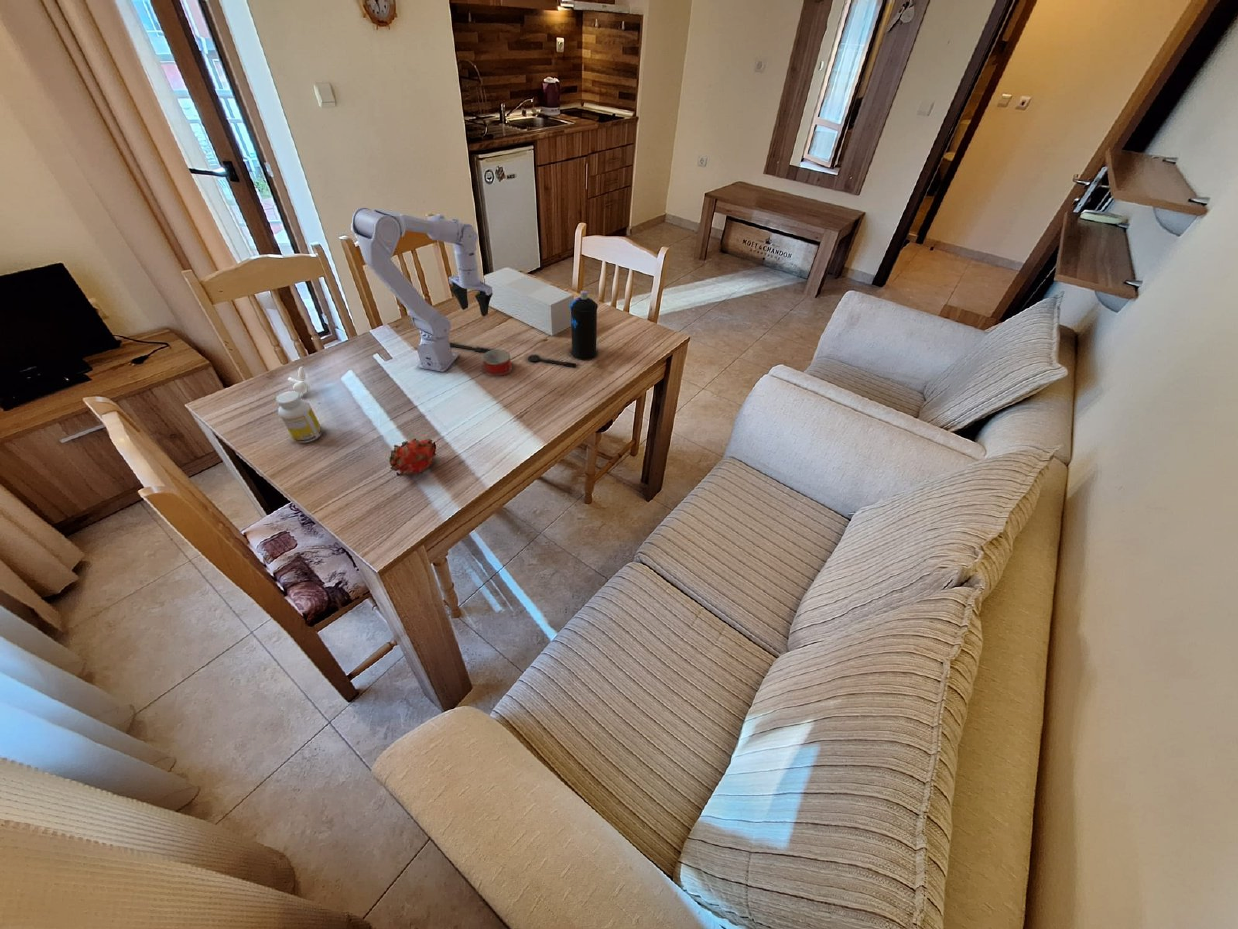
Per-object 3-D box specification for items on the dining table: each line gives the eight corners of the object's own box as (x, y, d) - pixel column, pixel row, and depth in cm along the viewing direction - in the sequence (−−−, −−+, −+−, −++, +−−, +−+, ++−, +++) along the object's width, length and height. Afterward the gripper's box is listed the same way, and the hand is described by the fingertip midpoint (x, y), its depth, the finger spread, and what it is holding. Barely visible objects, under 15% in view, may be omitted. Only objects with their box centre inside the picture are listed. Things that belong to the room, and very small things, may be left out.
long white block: (574, 324, 163) (573, 294, 156) (552, 336, 157) (550, 305, 149) (510, 295, 177) (507, 266, 169) (488, 305, 171) (483, 275, 163)
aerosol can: (598, 347, 153) (599, 286, 139) (595, 361, 147) (596, 299, 133) (573, 345, 153) (572, 284, 139) (568, 358, 147) (567, 296, 133)
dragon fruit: (392, 487, 108) (436, 464, 116) (409, 483, 102) (454, 460, 110) (373, 453, 106) (420, 432, 114) (389, 448, 100) (436, 426, 108)
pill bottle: (315, 423, 120) (295, 385, 112) (328, 434, 117) (309, 396, 109) (288, 435, 116) (266, 397, 108) (301, 447, 113) (279, 408, 105)
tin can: (505, 377, 138) (503, 365, 135) (480, 373, 139) (478, 360, 136) (515, 363, 144) (514, 351, 141) (491, 359, 145) (489, 347, 142)
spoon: (573, 369, 143) (573, 367, 143) (526, 361, 145) (526, 359, 145) (577, 363, 146) (577, 361, 145) (530, 355, 148) (530, 353, 147)
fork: (487, 353, 147) (487, 352, 147) (442, 346, 149) (442, 345, 149) (490, 350, 149) (490, 348, 149) (446, 342, 151) (445, 341, 151)
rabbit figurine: (289, 400, 126) (281, 375, 128) (303, 404, 130) (295, 379, 132) (305, 389, 125) (297, 364, 127) (318, 393, 128) (310, 368, 130)
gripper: (496, 268, 137) (502, 312, 146) (457, 257, 142) (465, 300, 151) (480, 276, 132) (487, 321, 142) (440, 264, 137) (449, 309, 146)
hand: (474, 311), depth 146 cm, fingers open, 7 cm apart
